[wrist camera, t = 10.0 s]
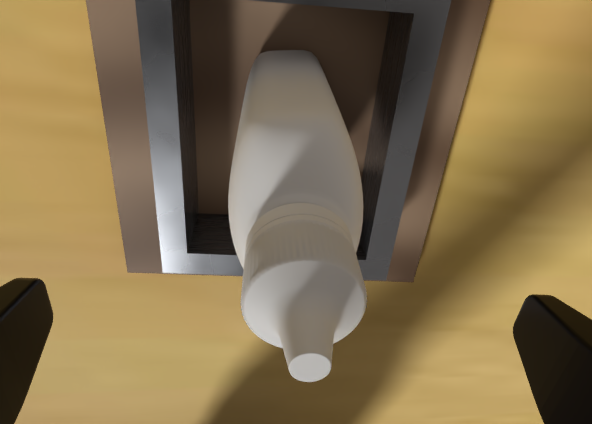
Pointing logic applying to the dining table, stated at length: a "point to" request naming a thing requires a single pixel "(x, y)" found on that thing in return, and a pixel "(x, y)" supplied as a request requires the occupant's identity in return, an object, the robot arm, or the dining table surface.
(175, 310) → the dining table surface
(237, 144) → the eye dropper bottle
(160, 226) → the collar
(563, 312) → the robot arm
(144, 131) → the socket board
